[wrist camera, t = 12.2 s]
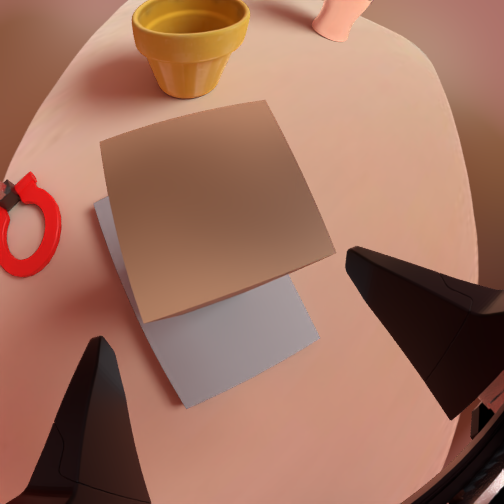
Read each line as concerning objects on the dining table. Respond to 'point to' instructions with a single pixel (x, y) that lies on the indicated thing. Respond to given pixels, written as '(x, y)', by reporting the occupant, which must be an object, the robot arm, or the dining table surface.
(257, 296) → the board
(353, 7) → the beer glass
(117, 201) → the walnut block
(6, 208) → the tow hook
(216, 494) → the dining table surface
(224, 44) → the plant pot
